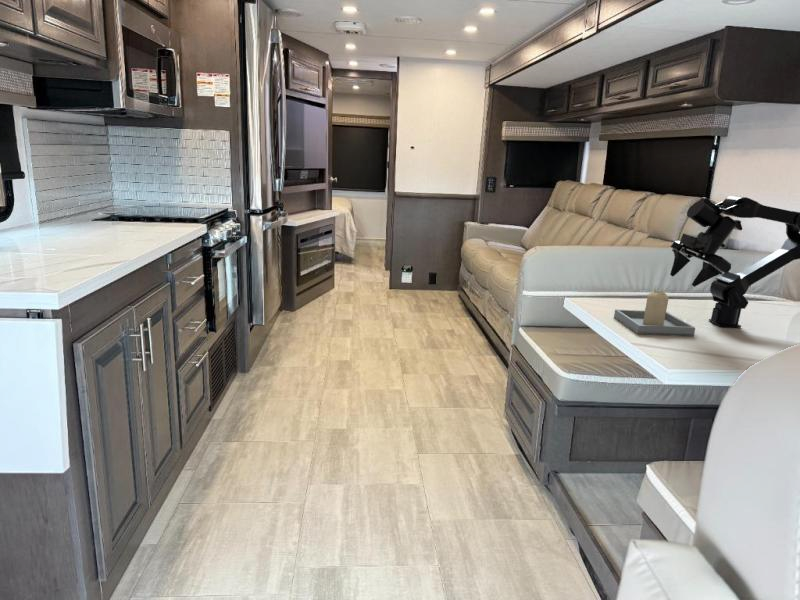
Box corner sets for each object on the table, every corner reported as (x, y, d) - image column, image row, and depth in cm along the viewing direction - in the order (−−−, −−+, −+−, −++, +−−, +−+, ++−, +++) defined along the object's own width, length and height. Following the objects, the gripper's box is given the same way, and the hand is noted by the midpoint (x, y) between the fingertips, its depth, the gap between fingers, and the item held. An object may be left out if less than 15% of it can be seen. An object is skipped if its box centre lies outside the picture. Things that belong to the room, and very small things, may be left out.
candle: (639, 323, 161) (645, 290, 158) (648, 320, 164) (654, 288, 162) (657, 328, 157) (663, 294, 154) (667, 325, 160) (673, 292, 157)
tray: (664, 319, 169) (666, 311, 168) (693, 336, 153) (695, 327, 153) (613, 317, 168) (615, 309, 167) (637, 334, 153) (639, 325, 152)
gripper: (675, 215, 165) (644, 259, 168) (723, 230, 148) (686, 278, 151) (698, 232, 169) (667, 275, 172) (747, 249, 152) (711, 296, 155)
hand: (681, 280), depth 162 cm, fingers open, 9 cm apart
